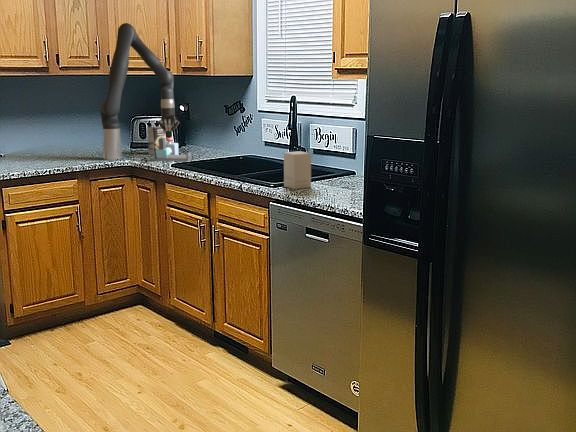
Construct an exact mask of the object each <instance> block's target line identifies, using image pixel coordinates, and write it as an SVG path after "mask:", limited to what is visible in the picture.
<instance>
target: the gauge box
mask: <svg viewBox="0 0 576 432" xmlns="http://www.w3.org/2000/svg"><path fill="white" fill-rule="evenodd" d="M166 149H169V155H180V153H179V143H178V142H171V144H168V142H166Z"/></svg>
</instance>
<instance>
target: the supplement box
mask: <svg viewBox="0 0 576 432" xmlns="http://www.w3.org/2000/svg"><path fill="white" fill-rule="evenodd" d="M283 186H284V187H286V188H290V189H293V190H299V189H306V188H307V189H308V188H312V153H311V152H307V151H302V150H298V151H287V152H283Z"/></svg>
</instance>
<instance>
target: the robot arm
mask: <svg viewBox="0 0 576 432" xmlns="http://www.w3.org/2000/svg"><path fill="white" fill-rule="evenodd" d="M116 37H117V38H116V45H115V48H114V49H115V50H114V52H113V56H112V59H111V64H110V66H109V67H110V68H109V73H108V90H107V91H108V92H107V96H106V98H105V100H103V101H101V103H100V115H101V116H100V117H101V118H100V119H101V124H102V134H103V142H102V153H103V154H102V155H103V160H107V161H108V160H109V161H112V160H113V161H114V160H115V161H116V160H117V159H118V160H121V159H122V158H123V155H122V140H121V125H120V122H119V113H120V110H121V102H122V100H121V99H122V96H123V90H124V87H125V83H126V79H127V76H128V75H127V74H128V71H129V63H130V62H129V61H130V49H131V47H132V49H133V50H134V51H135V52H136V54H138V56H139V57H140V58H141V60H142V61H143V62H144V63H145V64H146V66H147V67H148V68H149V69H150V70H151V71H152V72H153V73H154V75H155V76H156V78H157V79H158V80H159V81H160V82H161V89H160V99H161V100H160V107H161V108H160V110H161V113H160V114H161V117H160V120H158V121H157V124H158V125H159V127H161V128H162V129H163V130H165V131H166V138H171V137H172V138H173V131H175V130H176V129H177V127H178V126H179V124H180V123H181V122H180V121H179V120H178V119H177V118H176V111H175V110H176V108H175V107H176V106H175V96H174V82H175V78H174V77H175V76H174V74H173V73H172V72H171V71H170V70H168V69H167V68H166V67H165V66H164V65H163V63H162V61H161V60H160V58H158V56H157V55H156V54H155V53H154V52H153V51H152V50H151V49H150V48H149V47H148V46H147V45H146V44H145V43H144V41H143V40H142V39H141V37H139V35H138V33H137V31H136V29H135V27H134V26H133V25H132V24H131V23H128V22H125V23H122V24H120V25H119V27H118V29H117V35H116Z"/></svg>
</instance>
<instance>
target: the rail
mask: <svg viewBox="0 0 576 432" xmlns="http://www.w3.org/2000/svg"><path fill="white" fill-rule="evenodd" d="M152 158H153V162H190V161H192V151H188V152H186V153H185V154H179V155H167V158H160V157H156V152H154V153H153V155H152Z"/></svg>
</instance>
